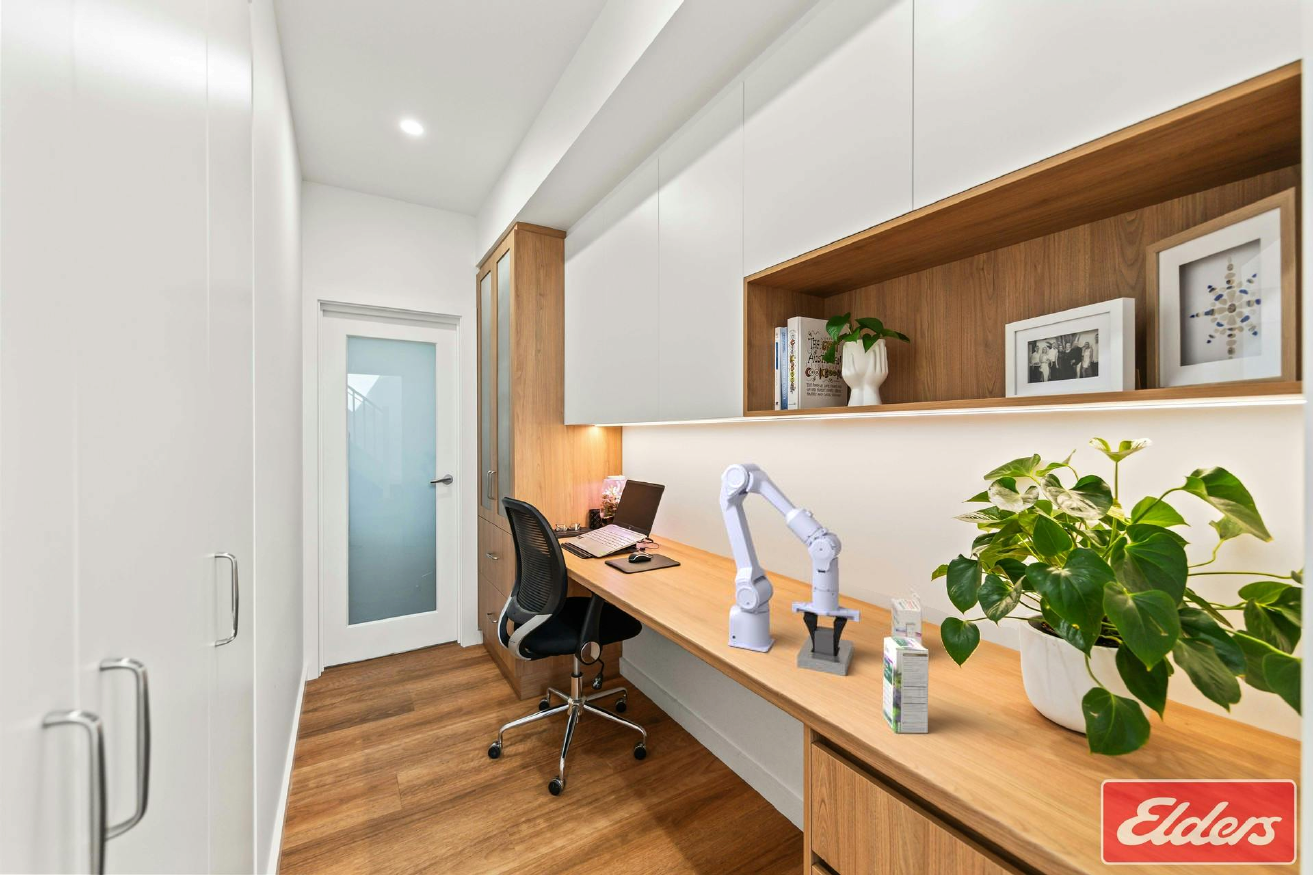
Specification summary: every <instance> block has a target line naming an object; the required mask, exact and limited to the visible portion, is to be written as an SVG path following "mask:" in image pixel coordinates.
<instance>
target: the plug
mask: <svg viewBox="0 0 1313 875" xmlns="http://www.w3.org/2000/svg"><path fill="white" fill-rule="evenodd" d="M815 653H818V654H824V655H830V656H835V657H836V651H834V627H829V626H828V627H827V626H821V625H817V628H816V630H815Z"/></svg>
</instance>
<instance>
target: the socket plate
mask: <svg viewBox="0 0 1313 875" xmlns="http://www.w3.org/2000/svg"><path fill="white" fill-rule="evenodd" d="M853 654H854V640H848V639H842V638H840V641H839V647H838V651H837V652H836V657H835V656H830V655H824V654H818V653H815V648H813V644H812V640H811V636H810V634H808V636H807V639H805V642H804V643H803V645H802V647H801V648H800V650H799V652H798V654H796V655H797V656H796V660H797V662H796V663H797V664H796V666H797V668H802V669H806V670H807V669H808V670H811V671H817V672H822V673H827V674H833V675H836V676H838V675H839V676H842V677H846V675H847V672H848V668H849V666H850V663H851V661H852V658H853Z"/></svg>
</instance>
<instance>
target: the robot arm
mask: <svg viewBox="0 0 1313 875" xmlns="http://www.w3.org/2000/svg"><path fill="white" fill-rule="evenodd" d="M720 480H721V488H720V492H719V499H718V501H719V502H718V503H719V506H720V510H721V514H722V517H723V522H724V525H725V528H726V532H727V537H728V539H729V543H730V546H731V551H732V556H733V559H734V563H735V566H736V570H737V573H736V576H735V579H734V585H735V591H734V592H735V593H734V596H735V602H736V604H733V605H732V606H731V608H730V611H729V615H728V616H729V618H728V631H729V632H728V646H729V647H735V648H740V649H746V650H751V651H756V652H757V651H758V652H762V653H767V652H768V651H769V650H770V648H771V647H772V645H773V644H774V643H775V640H776V639H774V638H771V636H770V635H771V634H770V633H771V632H770V631H771V630H770V629H771V628H770V626H771V624H770V623H771V620H770V619H771V616H770V615H771V613H770V612H771V611H770V608H771V606H770V600H771V598H772V597H773V595H774V586H773V584H772V582H771V581H770V580H769V578H768V577H767V574H766V571H765V569H764V568H762V567H761V565H760V564H759V560H758V557H757V554H756V553H757V552H756V550H755V546H754V542H753V538H752V535H751V531H750V527H749V524H748V520H747V517H746V512H745V510H744V504H743V502H744V501H745V499H746V498H747V496H748V494H749V493H751V494H756V495H761V496H762V497H763V498H764V499H765V500H767V502H768V503H769V504H771V506H773V507H774V508H775V509H776V510H777V511H778V512H779V513H780V514H781V515H782V516H784V517H785V525H786V527H787V528H788V529H789V530H790V531H791V532H792V533H793V534H794V535H795V536H796V537H797V538H798V540H800V541H801V542H802V543H803V544H804V545H805V546H806V547H807V550H808V554H809V556H810V557H811V559H812V560H811V561H812V565H811V566H812V567H811V576H812V577H811V578H812V579H811V580H812V583H811V593H812V595H811V601H812V602H806V601H805V602H802V601H801V602H800V601H793V602H792V604H791V612H792V613H801V614H802V613H803V618H802V619H803V622H804V624H805V626H806V628H807V630H808V632H809V635H810V636H811V640H812V644H813V648H815V630H816V628H817V627H818V618H819V616H820V617H821V616H822V617H829V618H834V620H833V622H832V624H833V628H834V651H836V652H837V651H838V647H839V641H840V639H841V636H842V634H843V630H844V628H845V627H846V624H847V622H848V621H849V620H850V621H853V622H857V623H860V620H861V610H857V609H852V608H848V607H846V606H845V607H844V606H840V596H839V595H840V593H839V591H840V587H839V586H840V585H839V584H840V577H839V576H840V575H839V574H840V571H839V570H840V568H839V557H838V555H839V554H840V553H841V551H842V542H841V540H840V538H839V536H837V534H835V533H834V532H831V531H829V528H827V527H823V526H822V525H821V523H819V522H818V521H817V520H816V519H815V517H813V516H814V513H813V512H812V511H811V510H807V509H805V508H801V507H800V508H799V507H796V506H795V505H794V504H793V502H792V501H791V500H790V499H789V498H788V497H787V496H786V494H784V492H783V491H782V490H781V489H780V488H779V487H778V485H776V483H775V482H773V480H772V479H771V478H770V477H769V475H768V474H767V472H766V471H764V470H762V469H761V468H760V466H759V465H758V464H756V463H754V462H746V463H740V464H739V463H737V464H736V463H735V464H731V465H729V466H728V467H727V468H726V469H725V470H724V472H723V473H722V474H721V476H720Z"/></svg>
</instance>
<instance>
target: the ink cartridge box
mask: <svg viewBox="0 0 1313 875" xmlns="http://www.w3.org/2000/svg"><path fill="white" fill-rule="evenodd" d="M910 595H911V597H910V598H911V599H909V598H905V599H904V598H891V599H890V600H891V601H890V603H891V604H890V606H891V607H890V608H891V616H890V617H891V637H907V638H914V639H915V640H916V641H918V642H919V643H920V644H921V645H922V646H923V642H922V638H923V635H922V634H923V633H922V631H923V629H922V628H923V625H922V624H923V620H922V619H923V618H922V604H921V597H920V596H919V595H918V593H917V592H916V591H915V590H914V589H913V588H912V587H910Z"/></svg>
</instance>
